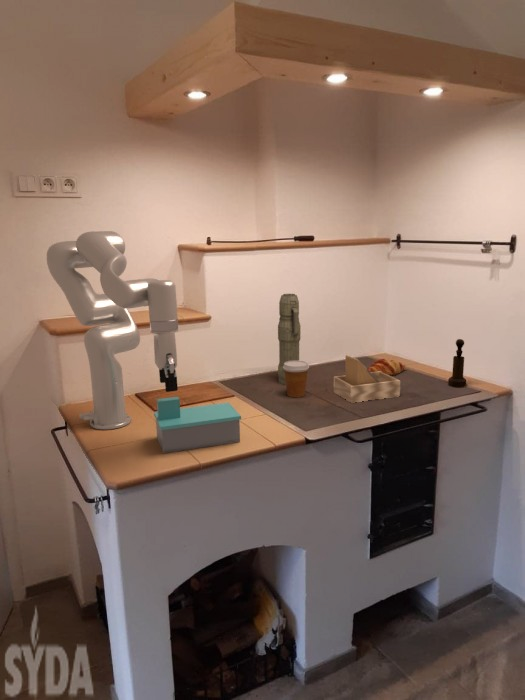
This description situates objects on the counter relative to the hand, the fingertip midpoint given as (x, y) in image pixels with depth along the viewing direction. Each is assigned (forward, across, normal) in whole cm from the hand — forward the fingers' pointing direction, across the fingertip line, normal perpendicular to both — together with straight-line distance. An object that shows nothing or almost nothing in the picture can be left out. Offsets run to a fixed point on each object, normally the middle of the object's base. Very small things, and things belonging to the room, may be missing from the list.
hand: (168, 386), depth 148 cm
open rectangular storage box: (+18, -20, +74) cm, 79 cm away
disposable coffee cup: (+18, -29, +50) cm, 61 cm away
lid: (+11, -1, +8) cm, 14 cm away
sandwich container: (+18, -20, +75) cm, 80 cm away
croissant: (+18, -41, +96) cm, 106 cm away
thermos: (+17, -45, +54) cm, 73 cm away
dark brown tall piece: (+19, -17, +112) cm, 115 cm away
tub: (+17, -1, +8) cm, 19 cm away
